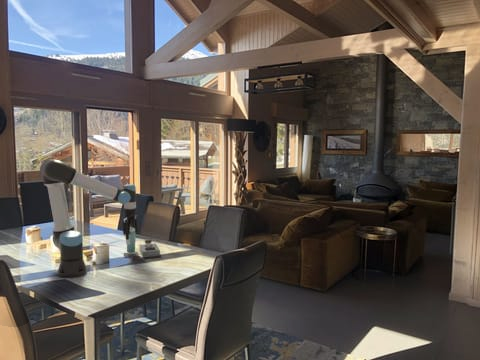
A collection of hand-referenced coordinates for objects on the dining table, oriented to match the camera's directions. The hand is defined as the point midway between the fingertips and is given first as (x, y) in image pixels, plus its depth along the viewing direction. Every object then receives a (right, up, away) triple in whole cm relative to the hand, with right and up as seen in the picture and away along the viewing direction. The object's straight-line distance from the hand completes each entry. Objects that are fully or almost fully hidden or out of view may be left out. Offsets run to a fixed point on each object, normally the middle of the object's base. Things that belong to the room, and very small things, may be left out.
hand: (130, 242), depth 248 cm
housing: (+11, -8, +5) cm, 15 cm away
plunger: (+9, -7, +10) cm, 15 cm away
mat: (0, -8, +1) cm, 8 cm away
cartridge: (0, -6, +1) cm, 6 cm away
